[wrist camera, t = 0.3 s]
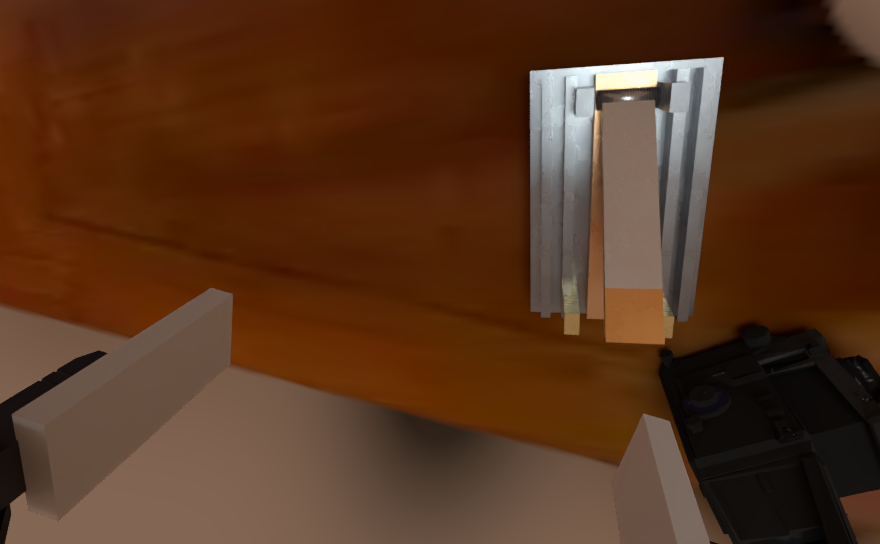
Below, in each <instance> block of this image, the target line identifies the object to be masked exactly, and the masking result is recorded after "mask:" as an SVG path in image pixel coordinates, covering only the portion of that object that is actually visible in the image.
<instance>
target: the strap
mask: <svg viewBox="0 0 880 544" xmlns="http://www.w3.org/2000/svg"><path fill="white" fill-rule="evenodd" d="M660 97H661V89H660V86H658V87H642V88H626V89H610V90H597V92H596V111H599V110H601V136H602V212H603V288H604V344H623V345H648V346H663V345H665V333H664V309H663V284H662V260H661V236H660V212H659V188H658V163H657V139H656V115H655V107H659V104H660Z"/></svg>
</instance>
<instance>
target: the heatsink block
mask: <svg viewBox="0 0 880 544" xmlns="http://www.w3.org/2000/svg"><path fill="white" fill-rule="evenodd" d="M723 59H724V57H720V58H706V59H692V60H678V61H664V62H650V63H636V64H622V65H608V66H594V67H580V68H566V69H552V70H538V71H530V234H531V312H541V317H547V318H550V314H551V312H559V313H561V318H564V334H571V335H579V321H580V313H586V316H587V319H604V288H603V212H602V136H601V110H599V111H596V92H597V90H610V89H626V88H642V87H658V86H660V89H661V97H660V104H659V107H655V115H656V139H657V163H658V188H659V212H660V236H661V260H662V284H663V309H664V333H665V338H672V333H673V324H674V316H675V318H676V320H677V321H680V322H688V316H693V310H694V301H695V293H696V285H697V276H698V268H699V260H700V251H701V243H702V235H703V226H704V218H705V210H706V201H707V193H708V185H709V176H710V168H711V160H712V151H713V143H714V135H715V126H716V118H717V110H718V101H719V93H720V84H721V76H722V68H723Z"/></svg>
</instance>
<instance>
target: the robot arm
mask: <svg viewBox="0 0 880 544" xmlns="http://www.w3.org/2000/svg"><path fill="white" fill-rule="evenodd" d="M232 303H233V294H231V293H227V292H224V291H220V290H217V289H214V288H210V289H208V290H207V291H205V292H204V293H202V294H201V295H199V296H197V297H196V298H194V299H193V300H191V301H190V302H188V303H186V304H185V305H183V306H182V307H180V308H179V309H177V310H175V311H174V312H172V313H171V314H169V315H168V316H166V317H164V318H163V319H161V320H160V321H158V322H156V323H155V324H153V325H152V326H150V327H149V328H147V329H145V330H144V331H142V332H141V333H139V334H138V335H136V336H134V337H133V338H131V339H130V340H128V341H127V342H125V343H123V344H122V345H120V346H119V347H117V348H116V349H114V350H112V351H111V352H109V353H105V352H102V351H96V352H94V353H90V354H87V355H84V356H82V357H78V358H76V359H74V360H72V361H71V362H69V363H67V364H66V365H64V366H62V367H61V368H59V369H58V370H57V372H52V373H51V374H49V375H47V376H46V377H44V378H43V379H42V381H37V382H36V383H34V384H32V385H31V386H29V387H27V388H26V389H24V390H22V391H21V392H19V393H17V394H16V395H14V396H13V397H11V398H9V399H8V400H6V401H4V402H3V403H1V404H0V544H5V540H6V535H7V530H8V526H9V521H10V517H11V509H10V503H11V502H12V501H14V500H15V499H16V498H17V497H18V496H20V495H21V494H22V493H23V492H25V493H26V499H27V505H28V510H29V511H32V512H35V513H37V514H40V515H43V516H46V517H49V518H51V519H54V520H57V521H59V520H60V519H61V518H62V517H63V516H64V515H65V514H66V513H68V512H69V511H70V510H71V509H72V508H73V507H74V506H75V505H76V504H77V503H79V502H80V501H81V500H82V499H83V498H84V497H85V496H86V495H87V494H88V493H90V492H91V491H92V490H93V489H94V488H95V487H96V486H97V485H98V484H99V483H101V482H102V481H103V480H104V479H105V478H106V477H107V476H108V475H109V474H110V473H112V472H113V471H114V470H115V469H116V468H117V467H118V466H119V465H120V464H121V463H122V462H124V461H125V460H126V459H127V458H128V457H129V456H130V455H131V454H132V453H133V452H135V451H136V450H137V449H138V448H139V447H140V446H141V445H142V444H143V443H145V442H146V441H147V440H148V439H149V438H150V437H151V436H152V435H153V434H154V433H155V432H157V431H158V430H159V429H160V428H161V427H162V426H163V425H164V424H165V423H166V422H168V421H169V420H170V419H171V418H172V417H173V416H174V415H175V414H176V413H178V412H179V411H180V410H181V409H182V408H183V407H184V406H185V405H186V404H187V403H188V402H189V401H191V400H192V399H193V398H194V397H195V396H196V395H197V394H198V393H200V392H201V391H202V390H203V389H204V388H205V387H206V386H207V385H208V384H209V383H211V382H212V381H213V380H214V379H215V378H216V377H217V376H218V375H219V374H220V373H221V372H223V371H224V370H225V369H226V368H227V367H228V366H229V365H230V352H231V328H232ZM612 487H613V494H614V501H615V507H616V515H617V522H618V529H619V536H620V543H621V544H717V543H714V542H711V541H709V539H708V535H707V532H706V529H705V526H704V523H703V521H702V517H701V514H700V512H699V509H698V505H697V503H696V499H695V496H694V493H693V490H692V487H691V484H690V481H689V478H688V475H687V472H686V469H685V466H684V463H683V460H682V457H681V454H680V451H679V448H678V445H677V442H676V439H675V436H674V433H673V430H672V427H671V424H670V421H667V420H664V419H661V418H657V417H654V416H650V415H647V414H643V415H642V417H641V419H640V421H639V424H638V426H637V428H636V430H635V432H634V435H633V437H632V439H631V441H630V443H629V446H628V448H627V450H626V452H625V454H624V457H623V459H622V461H621V463H620V465H619V468H618V470H617V472H616V474H615V477H614V479H613V481H612Z"/></svg>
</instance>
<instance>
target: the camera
mask: <svg viewBox="0 0 880 544" xmlns="http://www.w3.org/2000/svg"><path fill="white" fill-rule="evenodd" d="M742 338H743V340H742V341H739V342H736V343H733V344H729V345H726V346H723V347H720V348H717V349H714V350H711V351H707V352H704V353H701V354H698V355H695V356H692V357H689V358H685V359H674V358H673V353H672V351H670V350H665V351H663V352H661V354H660V355H659V356H660V357H661V359H662V362H663V364H662V366H661V368H660V371H659V377H660V379H661V382H662V385H663V388H664V391H665V394H666V397H667V400H668V403H669V406H670V409H671V412H672V415H673V417H674V420H675V423H676V426H677V429H678V432H679V435H680V438H681V441H682V444H683V447H684V450H685V453H686V456H687V458H688V461H689V464H690V466H691V468H692V470H693V472H694V474H695V476H696V478H697V480H698V482H699V484H700V485H699V487H700V490H701V492H702V494H703V496H704V498H705V497H706V498H707V500H708V503H709V505H710V507H711V509H712V511H713V513H714V515H715V517H716V519H717V521H718V523H719V525H720V527H721V529H722V531H723V533H724V534H729V537H730V538H731V540H732V543H733V544H858V543H857V541H856V537H855V535H854V532H853V530H852V527H851V525H850V523H849V520H848V518H847V515H846V514H847V513H845V511H844V508H843V506H842V503H841V501H840V499H839V498H841V497H845V496H850V495H854V494H859V493H863V492H868V491H874V490H879V489H880V376H879V375H878V374H877V372H876V371H875V369H874V368H873V366H872V365H871V363H870V362H869V361H868V359H865V358H863V357H861V356H859V355H858V356H856V357H855V356H853V357H848V358H843V359H841V358H838V359H834V358H833V357H832V356H831V355H830V353H829V350H828V347H827V344H826V342H825V339H824V336H822V335H821V334H820V333H819V332H818V331H817V330H816V329H813V330H810V331H806V332H803V333H800V334H796V335H793V336H790V337H785V336H783V337H777V336H774V335H771V334H770V333H769V330H768V328H767V327H765V326H752V327H750V328H748V329H746V330H744V331H743V332H742Z"/></svg>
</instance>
